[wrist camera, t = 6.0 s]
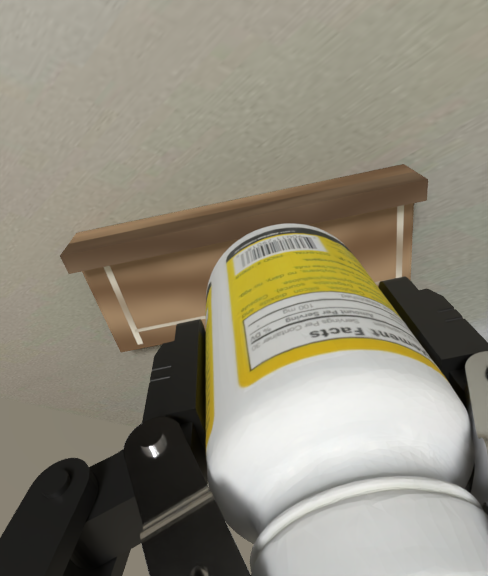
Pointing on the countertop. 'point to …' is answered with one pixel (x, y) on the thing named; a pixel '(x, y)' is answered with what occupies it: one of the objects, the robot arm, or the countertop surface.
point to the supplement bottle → (331, 420)
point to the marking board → (224, 233)
